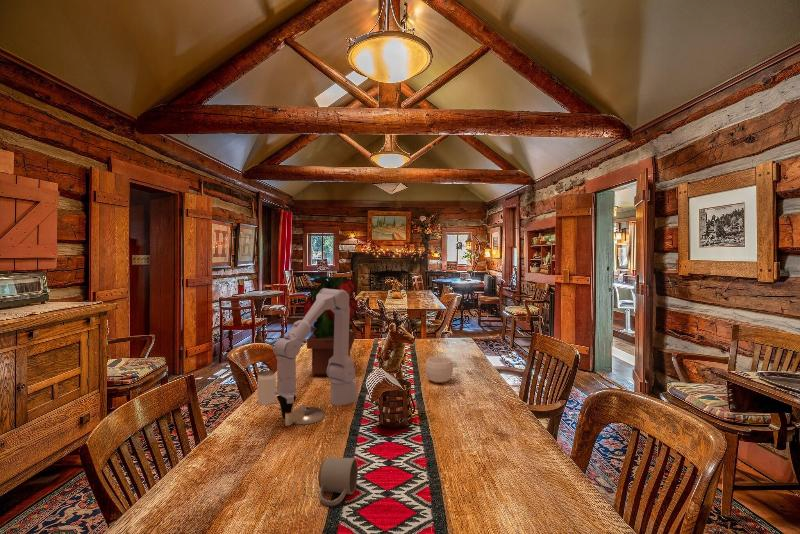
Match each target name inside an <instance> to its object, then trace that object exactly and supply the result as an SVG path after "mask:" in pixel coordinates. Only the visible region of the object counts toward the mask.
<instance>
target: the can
mask: <svg viewBox="0 0 800 534" xmlns="http://www.w3.org/2000/svg"><path fill="white" fill-rule="evenodd" d="M274 390H277V374H275V371H274V370H262V371H260V372H259V373H258V376H257V404H258V405H263V406H264V405H265V406H266V405H271V404H274V403H276V401H277V394H274V393H273V391H274Z"/></svg>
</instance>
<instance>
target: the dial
mask: <svg viewBox="0 0 800 534" xmlns="http://www.w3.org/2000/svg"><path fill="white" fill-rule="evenodd" d="M324 417H325V412H324V410H323V409H322V408H319V407H316V406H306V404H304V403H303V404H301V405H299V406H297V407H296V408H294V409H293V408H292V410H291V411H290V412H286V413H285V419H284V420H285V421H284V423H285V424H284V425H285V426H287V427H288V426H290V425H292V424H293V425H298V426H305V425H306V426H307V425H312V424H316V423H318V422H320V421H322V420H323V419H324Z"/></svg>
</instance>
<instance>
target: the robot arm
mask: <svg viewBox="0 0 800 534" xmlns="http://www.w3.org/2000/svg"><path fill="white" fill-rule="evenodd" d="M349 298H350V297H349V294H348V293H347V292H346V291H345V290H335V289H327V288H323V289H321V290H320V292H319V293H318V294H317V295H316V301H315V302H314V304H313V305H312V307H311V308H310V310H309V311H308V313H307V314H306V315H305V317H304V316H303V318H302V319H299V320H297V321H294V323H293V325H292V326H291V328H290V329H289V330H288V332H287V333H286V334H285V335H284V336H283V337H281V338H279V339H278V340H277V341H276V342H275V343H274V346H273V348H272V351H273V353H274V355H275V360H276V363H277V365H276V367H277V368H276V369H277V371H276V390H274V391H273V393H274V394H276V400H277V401H278V402H279V406H280V410H281V415H282V419H284V420H285V413H286V412H290V411H292V410H293V405H294V403H295V401H296V399H297V396H296V392H297V388H296V384H297V382H296V381H297V380H296V379H297V377H296V376H297V374H296V373H297V372H296V371H297V370H296V369H297V368H296V367H297V365H296V363H297V356H298V355H299V353H300V351H301V346H302V343H303V342H304V341H305V340H306V338H307V337H308V335H309V334H310V333H311V331H312V327H311V326H312V325H314V323H315V322H316V321H317V320H316V319H317V318H318V317H319V316H320V315H321V314H322V313H323V312H324V311H325V310H329V309H330V310H331V311H333V312H334V314H335V321H334V355H333V356H332V357H331V358H330V359H329V364H328V367H327V376H326V377H327V378H328V379H329V381H330V404H331V405H334V406H345V405H349V404H355V403H358V385H357V383H358V382H357V381H356V380H355V376H356V368H355V361H354V360H353V358H351V356H350V357H349V355H348V348H349V331H350V330H349V324H350V321H349V313H350V308H349Z"/></svg>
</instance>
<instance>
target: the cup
mask: <svg viewBox="0 0 800 534" xmlns="http://www.w3.org/2000/svg"><path fill="white" fill-rule="evenodd" d="M452 360H453V359H450V358H448V357H443V356H432V357H429V358H427V359H426V361H425V366H424V370H425V371H424V372H425V375H426V378H428V379H429V380H430V381H431V382H432V383H433V382H434V384H437V383H442V384H444V382H445V383H446V382H448V381H450V380H451V378H452V376H453V371H454V364H453V361H452Z"/></svg>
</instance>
